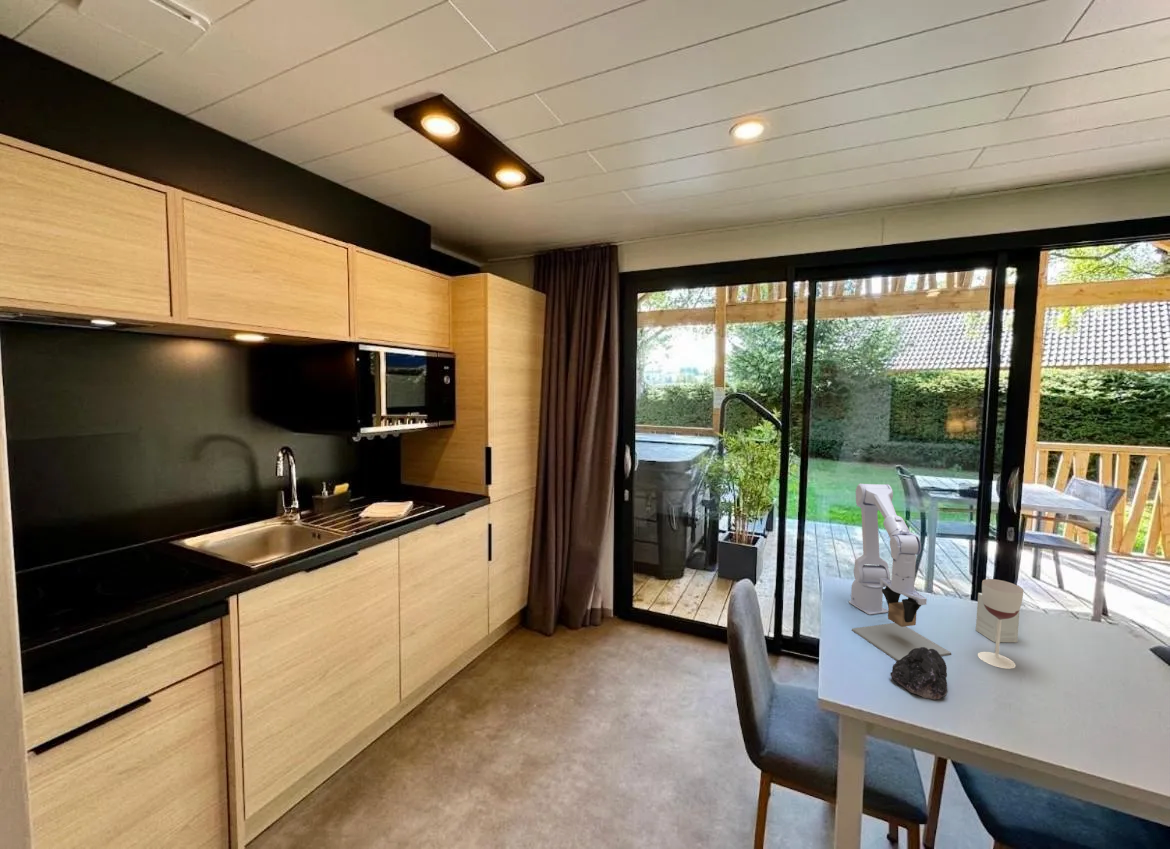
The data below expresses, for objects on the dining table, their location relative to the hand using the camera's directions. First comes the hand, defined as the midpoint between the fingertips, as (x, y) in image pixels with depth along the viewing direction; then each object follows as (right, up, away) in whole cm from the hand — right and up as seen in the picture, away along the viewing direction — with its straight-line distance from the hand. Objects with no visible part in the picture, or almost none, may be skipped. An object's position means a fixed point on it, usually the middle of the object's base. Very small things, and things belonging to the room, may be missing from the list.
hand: (900, 617), depth 146 cm
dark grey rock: (-8, -10, -19) cm, 23 cm away
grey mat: (0, -8, +1) cm, 8 cm away
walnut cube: (0, -2, 0) cm, 2 cm away
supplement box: (+32, -8, +4) cm, 33 cm away
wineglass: (+22, -9, -9) cm, 25 cm away
